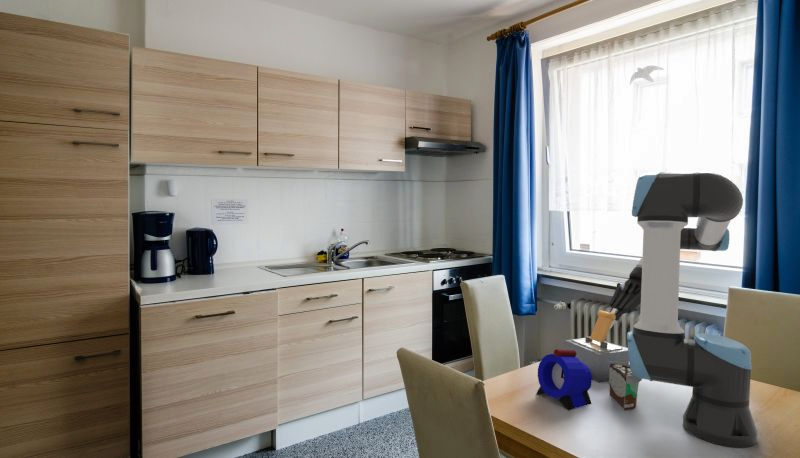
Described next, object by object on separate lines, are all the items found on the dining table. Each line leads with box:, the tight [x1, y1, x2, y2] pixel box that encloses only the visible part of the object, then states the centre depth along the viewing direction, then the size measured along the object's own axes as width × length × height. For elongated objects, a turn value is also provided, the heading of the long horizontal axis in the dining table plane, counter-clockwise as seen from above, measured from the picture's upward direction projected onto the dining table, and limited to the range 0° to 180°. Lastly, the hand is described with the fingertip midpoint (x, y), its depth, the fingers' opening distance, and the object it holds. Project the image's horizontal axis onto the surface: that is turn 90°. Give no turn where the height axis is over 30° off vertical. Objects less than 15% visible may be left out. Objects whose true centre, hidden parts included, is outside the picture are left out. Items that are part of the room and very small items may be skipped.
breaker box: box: [564, 335, 630, 384], centre depth 157 cm, size 12×16×11 cm
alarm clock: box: [535, 348, 593, 411], centre depth 136 cm, size 12×12×15 cm
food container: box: [608, 361, 642, 411], centre depth 133 cm, size 12×6×10 cm, turn 179°
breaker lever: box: [590, 309, 616, 343], centre depth 157 cm, size 2×6×10 cm, turn 21°
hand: (606, 325), depth 158 cm, fingers closed
